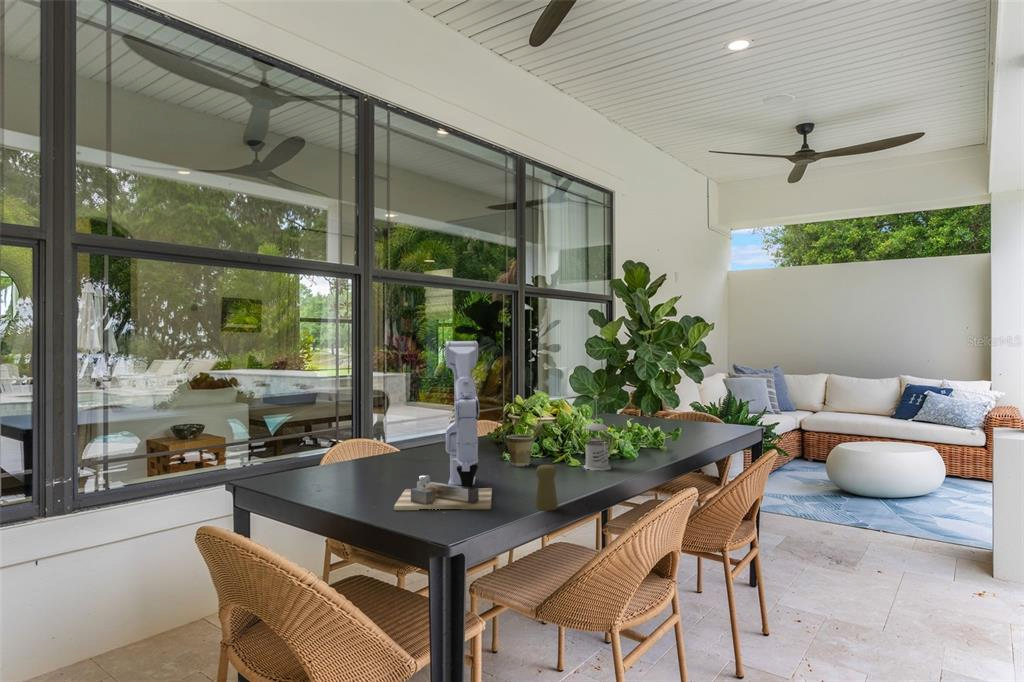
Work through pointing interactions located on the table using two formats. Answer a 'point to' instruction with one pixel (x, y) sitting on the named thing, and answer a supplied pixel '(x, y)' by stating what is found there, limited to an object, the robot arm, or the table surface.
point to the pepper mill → (546, 488)
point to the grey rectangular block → (422, 496)
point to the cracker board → (445, 502)
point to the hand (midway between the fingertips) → (467, 492)
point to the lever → (450, 490)
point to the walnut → (432, 490)
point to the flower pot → (520, 449)
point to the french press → (597, 447)
